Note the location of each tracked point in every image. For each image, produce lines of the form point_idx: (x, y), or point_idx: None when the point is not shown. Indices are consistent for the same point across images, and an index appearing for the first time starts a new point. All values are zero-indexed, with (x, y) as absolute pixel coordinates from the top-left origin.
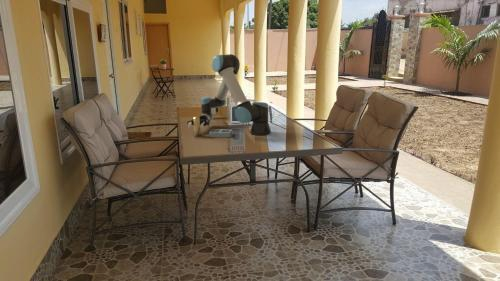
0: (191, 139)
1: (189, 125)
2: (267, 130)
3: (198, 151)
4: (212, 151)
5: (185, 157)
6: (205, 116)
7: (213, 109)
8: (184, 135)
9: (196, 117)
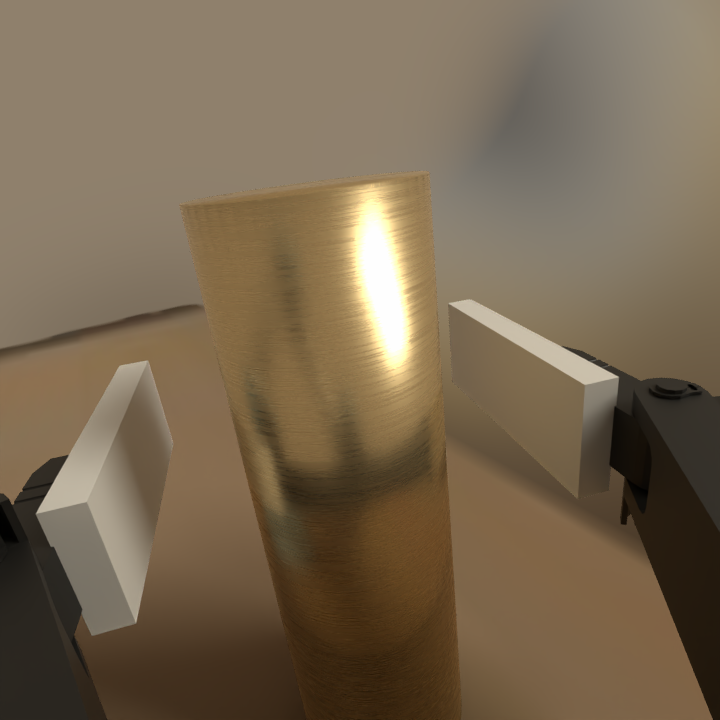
0: None
1: (463, 354)
2: None
3: (150, 347)
4: (47, 369)
5: (202, 306)
6: None
7: None
8: None
9: (276, 188)
